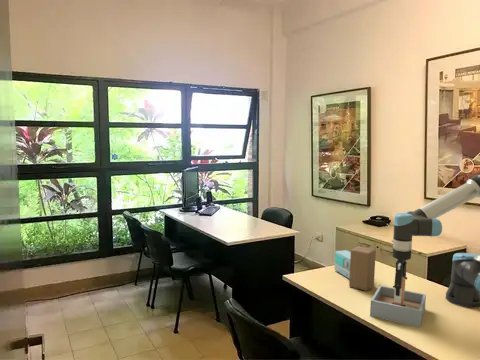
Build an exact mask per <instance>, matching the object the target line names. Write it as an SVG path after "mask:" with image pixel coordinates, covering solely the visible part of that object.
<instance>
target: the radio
mask: <svg viewBox="0 0 480 360" xmlns="http://www.w3.org/2000/svg"><path fill="white" fill-rule="evenodd" d="M360 245H361V243H358V246H360ZM350 257H351V251H349V250H346V249H343V250H335V251H334V271H336V272H337V273H339V274H340V275H342V276H344V277H346V278H347V279H348V280H349V279H350Z"/></svg>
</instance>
